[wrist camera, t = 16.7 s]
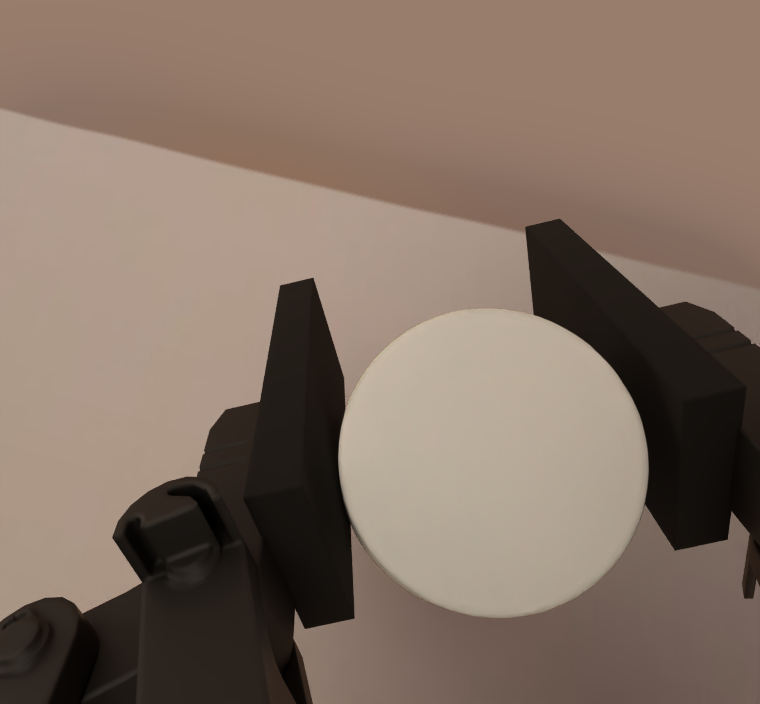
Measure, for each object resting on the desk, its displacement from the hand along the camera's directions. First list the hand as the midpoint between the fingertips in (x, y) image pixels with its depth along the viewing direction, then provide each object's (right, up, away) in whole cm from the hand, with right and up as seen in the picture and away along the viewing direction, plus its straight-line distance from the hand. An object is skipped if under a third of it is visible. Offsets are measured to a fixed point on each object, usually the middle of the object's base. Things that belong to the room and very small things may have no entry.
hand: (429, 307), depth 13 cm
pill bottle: (+1, -4, +2) cm, 5 cm away
